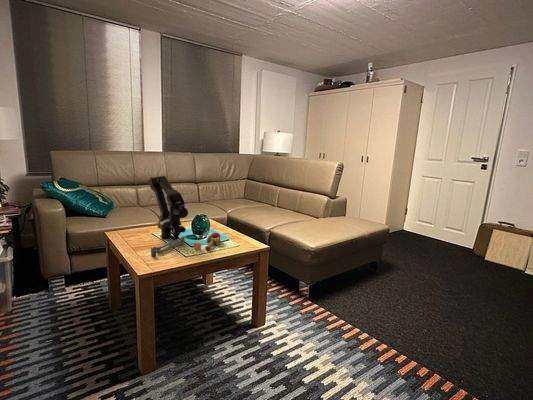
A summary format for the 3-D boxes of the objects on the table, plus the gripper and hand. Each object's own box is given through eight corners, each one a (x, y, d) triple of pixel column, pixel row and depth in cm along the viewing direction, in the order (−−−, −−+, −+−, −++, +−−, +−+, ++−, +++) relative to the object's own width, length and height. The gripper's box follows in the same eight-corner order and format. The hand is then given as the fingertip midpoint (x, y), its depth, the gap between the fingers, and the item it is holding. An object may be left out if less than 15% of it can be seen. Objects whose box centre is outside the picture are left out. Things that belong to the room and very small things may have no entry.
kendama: (216, 254, 158) (224, 239, 174) (213, 243, 156) (221, 229, 172) (202, 255, 159) (211, 240, 176) (200, 245, 157) (209, 231, 174)
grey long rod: (156, 253, 151) (156, 247, 150) (182, 242, 169) (182, 236, 168) (158, 253, 150) (158, 247, 150) (184, 242, 168) (184, 237, 167)
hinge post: (150, 255, 149) (150, 247, 148) (155, 254, 150) (155, 246, 149) (151, 257, 147) (151, 248, 146) (156, 256, 148) (156, 248, 147)
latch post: (193, 249, 159) (193, 242, 159) (199, 248, 161) (198, 241, 160) (195, 251, 157) (195, 244, 156) (201, 250, 159) (200, 243, 158)
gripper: (156, 212, 169) (157, 237, 172) (165, 219, 154) (166, 247, 157) (175, 210, 175) (176, 235, 179) (185, 217, 160) (186, 244, 163)
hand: (175, 240), depth 169 cm, fingers closed
